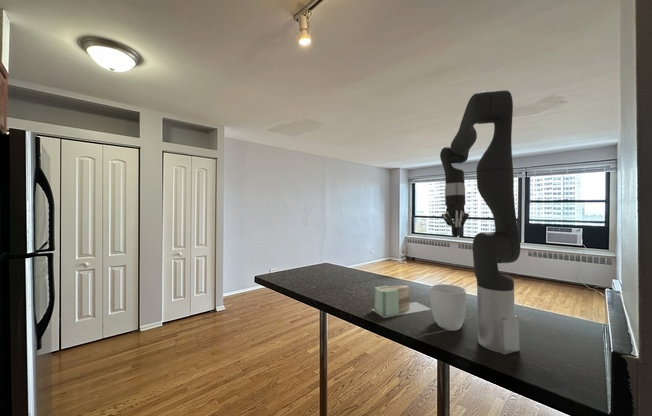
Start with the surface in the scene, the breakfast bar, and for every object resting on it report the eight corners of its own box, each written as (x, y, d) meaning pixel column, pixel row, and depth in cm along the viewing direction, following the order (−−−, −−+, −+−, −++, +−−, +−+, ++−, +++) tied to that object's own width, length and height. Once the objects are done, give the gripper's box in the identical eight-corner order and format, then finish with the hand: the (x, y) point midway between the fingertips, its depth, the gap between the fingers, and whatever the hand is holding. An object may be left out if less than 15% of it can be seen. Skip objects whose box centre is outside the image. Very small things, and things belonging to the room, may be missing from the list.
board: (431, 310, 104) (431, 309, 104) (383, 319, 97) (383, 317, 97) (416, 303, 113) (416, 301, 113) (371, 310, 105) (371, 309, 105)
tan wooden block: (409, 309, 104) (409, 286, 104) (383, 314, 100) (382, 290, 100) (404, 306, 108) (403, 284, 108) (378, 310, 103) (378, 288, 104)
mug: (451, 315, 99) (450, 280, 99) (480, 326, 90) (479, 288, 90) (424, 324, 92) (423, 287, 92) (453, 337, 82) (452, 295, 83)
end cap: (398, 313, 100) (398, 290, 101) (383, 316, 98) (383, 292, 98) (388, 307, 107) (388, 285, 107) (374, 310, 104) (374, 287, 105)
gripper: (449, 193, 103) (450, 237, 103) (474, 194, 108) (475, 236, 108) (435, 195, 110) (436, 236, 110) (459, 195, 115) (460, 234, 115)
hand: (455, 236), depth 109 cm, fingers closed
